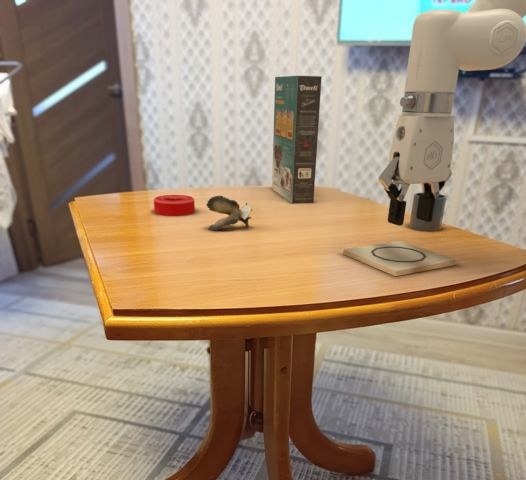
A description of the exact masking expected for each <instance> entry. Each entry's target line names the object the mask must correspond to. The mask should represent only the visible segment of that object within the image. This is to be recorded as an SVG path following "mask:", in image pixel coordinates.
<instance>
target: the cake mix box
mask: <svg viewBox="0 0 526 480" xmlns="http://www.w3.org/2000/svg"><path fill="white" fill-rule="evenodd" d="M322 78H323V77H322V76H320V75H285V76H275V77H274V103H273V104H274V107H273V141H272V171H271V172H272V175H271V189H272V190H273V191H274V192H276V193H277V194H279V195H280V196H282V197H283V198H284V199H285V200H286V201H288V202H290V203H291V204H312V203H313V204H314V199H315V185H316V169H317V156H318V153H317V152H318V141H319V140H318V139H319V122H320V110H321V109H320V108H321V95H322V80H323V79H322Z"/></svg>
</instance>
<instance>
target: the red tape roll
mask: <svg viewBox="0 0 526 480" xmlns="http://www.w3.org/2000/svg"><path fill="white" fill-rule="evenodd" d="M195 205H196V204H195V199H194V197H192V196H190V195H184V194H163V195H159V196H158V195H157V196H155V197H154V199H153V209H154V213H155V214H157V215H161V216H167V217H168V216H169V217H177V216H187V215H191V214H195V212H196V211H195V210H196V209H195V208H196V207H195Z"/></svg>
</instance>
